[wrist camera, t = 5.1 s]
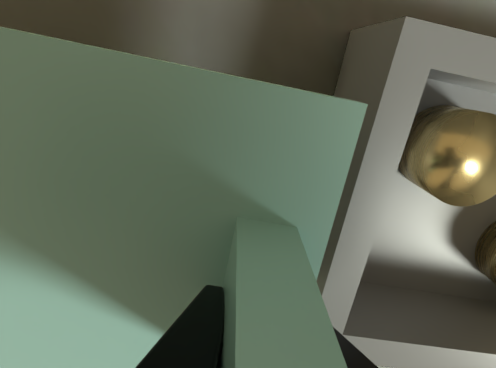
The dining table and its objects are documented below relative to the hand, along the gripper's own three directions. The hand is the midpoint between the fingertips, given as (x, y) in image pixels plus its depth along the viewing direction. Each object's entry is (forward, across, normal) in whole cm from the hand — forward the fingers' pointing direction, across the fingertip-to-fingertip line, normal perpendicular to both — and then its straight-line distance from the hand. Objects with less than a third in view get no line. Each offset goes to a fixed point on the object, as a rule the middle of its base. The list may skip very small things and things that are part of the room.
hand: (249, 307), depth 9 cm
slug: (+5, -6, -4) cm, 9 cm away
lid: (+1, +4, 0) cm, 5 cm away
